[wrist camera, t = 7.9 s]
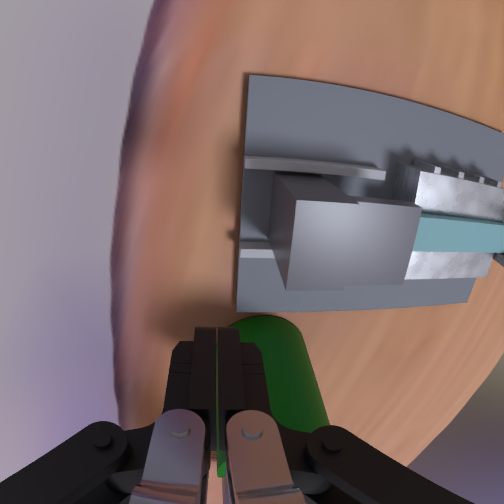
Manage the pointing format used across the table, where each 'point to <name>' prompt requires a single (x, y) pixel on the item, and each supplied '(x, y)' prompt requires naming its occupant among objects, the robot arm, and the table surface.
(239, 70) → the table surface
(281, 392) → the motor
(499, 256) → the silver toothed block
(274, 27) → the table surface
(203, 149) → the table surface
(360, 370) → the table surface
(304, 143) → the board
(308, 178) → the block
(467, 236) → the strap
